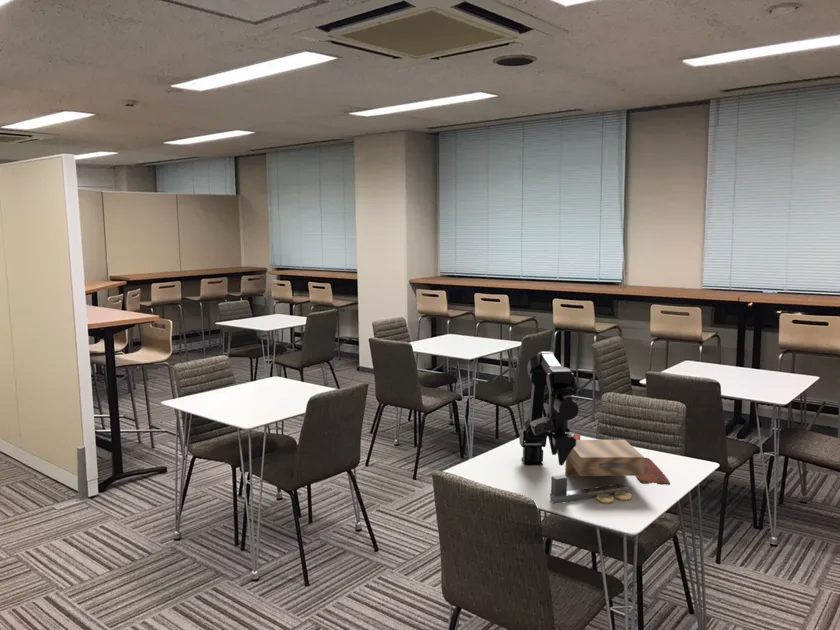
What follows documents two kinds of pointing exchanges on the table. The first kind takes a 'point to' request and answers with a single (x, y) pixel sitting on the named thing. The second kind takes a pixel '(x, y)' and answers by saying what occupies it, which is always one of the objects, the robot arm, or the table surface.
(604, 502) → the brass disc
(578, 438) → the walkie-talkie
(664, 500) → the table surface
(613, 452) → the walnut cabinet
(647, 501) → the table surface
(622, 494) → the brass disc
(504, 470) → the table surface
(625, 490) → the gray l-shaped bracket
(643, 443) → the table surface
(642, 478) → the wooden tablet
